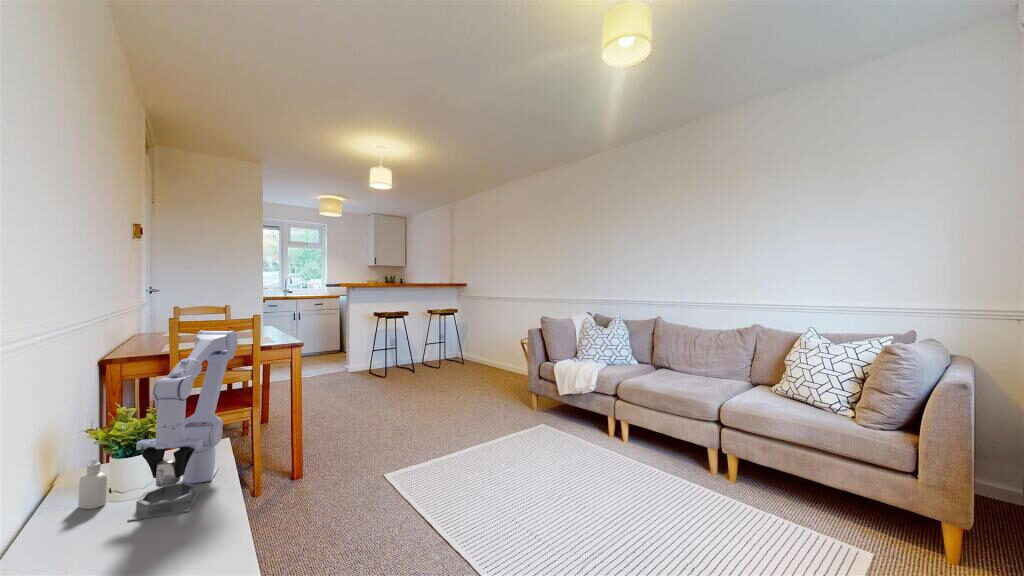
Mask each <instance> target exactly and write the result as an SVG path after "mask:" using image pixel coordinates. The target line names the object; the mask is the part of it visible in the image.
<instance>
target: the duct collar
mask: <svg viewBox="0 0 1024 576" xmlns="http://www.w3.org/2000/svg"><path fill="white" fill-rule="evenodd" d="M202 491H203V488H199V489H198V485H196V484H195V483H192V484H190V483H187V482H184V483H176V484H173V485H170V486H165V487H158V486H157V487H156V488H154V489H151V490H148V491H145V492H143V493H142V495H141V496H140V497H139V498H138V499H137V501H135V502H136V506H135V510H134V512H133V513H132V514H131V515H130V516H129V517H128V519H127V520H126V521H127V522H128V523H129V522H134V521H140V520H146V519H147V520H148V519H153V518H159V517H165V516H172V515H178V514H179V515H180V514H185V513H189V512H191V510H192V508H193V506H194V504H195V503H196V501H197V499H198V498H199V496H200V495H201V493H202Z"/></svg>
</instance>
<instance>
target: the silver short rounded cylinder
mask: <svg viewBox="0 0 1024 576" xmlns="http://www.w3.org/2000/svg"><path fill="white" fill-rule="evenodd" d="M180 480H181V477H176V462H175V457H174V456H173V457H168V458H163V460H160V461H159V462H157V468H156V478H155V486H156V487H157V488H158V487H165V486H170V485H173V484H176V483H178V482H179V481H180Z"/></svg>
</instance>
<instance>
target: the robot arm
mask: <svg viewBox="0 0 1024 576" xmlns="http://www.w3.org/2000/svg"><path fill="white" fill-rule="evenodd" d="M238 343H239V341H238V335H237V333H236V332H235V330H204V329H203V330H202V329H201V330H199V331H198V332H197V333H196V335H195V338H194V348H192V351H191V352H190V354H189V355H188V356H187V357H186V358H182V359H181V360H179V362H178V363H176V365H175V366H174V367H173V369H172V370H171V371H170V372H169V374H167V376H166V377H162V378H161V379H158V380H157V381H156V382H155V384H154V385H153V388H152V392H151V393H152V398H153V400H154V407H155V408H156V410H157V411H156V429H155V430H156V433H155V438H150V439H141V440H139V441H137V442H136V445H135V446H136V449H135V450H136V451H141V450H145V451H143V452H142V455H141V457H142V458H143V459H144V460H145V461H146V463H147V464H148V467H149V468H150V472H151V475H152V479H156V468H157V462H159V461H160V460H163V459H165V453H166V449H177V450H176V451H173V457H175V462H176V477H180V481H179V482H178V483H184V482H187V483H190V484H198V483H206V482H211V481H212V480H213V478H214V476H215V475H216V473H217V471H218V470H219V468H220V467H219V466H216V446H217V445H219V443H220V442H221V439H222V437H223V427H224V420H223V419H222V418H221V417H219V416H218V415H217V414H216V410H217V405H218V401H219V398H220V394H221V391H222V386H223V383H224V382H223V381H224V378H225V373H226V369H227V366H228V362H229V361H230V360H233V359H234V357H235V354H236V350H237V347H238ZM204 361H207V363H208V364H207V367H206V369H205V370H206V372H205V374H204V377H203V382H202V385H201V389H200V393H199V397H198V400H197V404H196V408H195V411H194V413H193V414H192V415H190V416H188V417H187V418H186V410H187V398H189V397H190V395H191V393H192V389H193V387H194V381H195V380H196V378H197V377H199V374H200V373H201V372H202V370H203V366H202V364H203V362H204Z"/></svg>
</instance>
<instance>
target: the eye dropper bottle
mask: <svg viewBox="0 0 1024 576" xmlns="http://www.w3.org/2000/svg"><path fill="white" fill-rule="evenodd" d="M101 467H102V466H101V462H98V461H97V458H96V457H95V458H92V459H91V462H90V463H89V464H87V466H86V473H85V474H83V475H81V476H80V477H79V484H78V501H77V502H78V503H77V504H78V505H77V506H78V508H80V509H83V510H94V509H98V508H100V507H103V506H105V505H106V503H107V483H108V480H107V479H108V477H107V474H106V473H104V472H103V471H101Z"/></svg>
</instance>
